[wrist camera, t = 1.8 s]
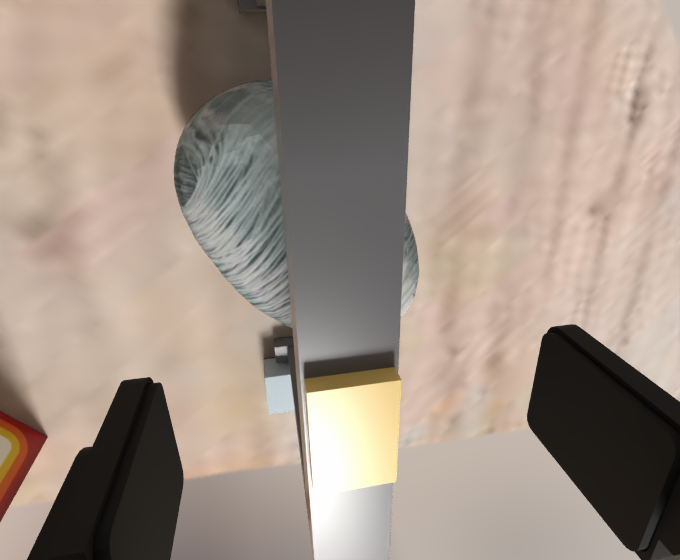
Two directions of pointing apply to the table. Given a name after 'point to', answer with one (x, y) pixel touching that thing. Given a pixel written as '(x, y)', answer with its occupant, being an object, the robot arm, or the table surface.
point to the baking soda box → (15, 456)
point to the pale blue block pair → (278, 386)
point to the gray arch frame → (343, 252)
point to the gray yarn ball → (247, 197)
